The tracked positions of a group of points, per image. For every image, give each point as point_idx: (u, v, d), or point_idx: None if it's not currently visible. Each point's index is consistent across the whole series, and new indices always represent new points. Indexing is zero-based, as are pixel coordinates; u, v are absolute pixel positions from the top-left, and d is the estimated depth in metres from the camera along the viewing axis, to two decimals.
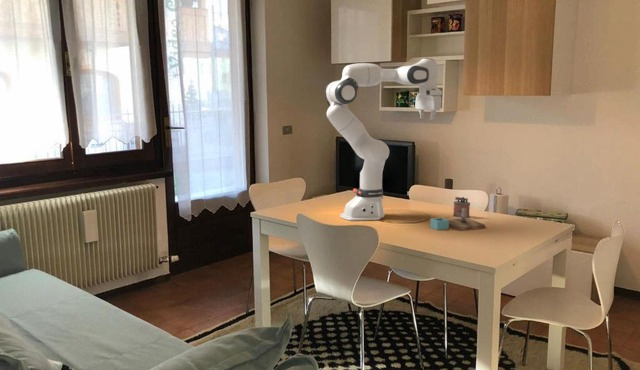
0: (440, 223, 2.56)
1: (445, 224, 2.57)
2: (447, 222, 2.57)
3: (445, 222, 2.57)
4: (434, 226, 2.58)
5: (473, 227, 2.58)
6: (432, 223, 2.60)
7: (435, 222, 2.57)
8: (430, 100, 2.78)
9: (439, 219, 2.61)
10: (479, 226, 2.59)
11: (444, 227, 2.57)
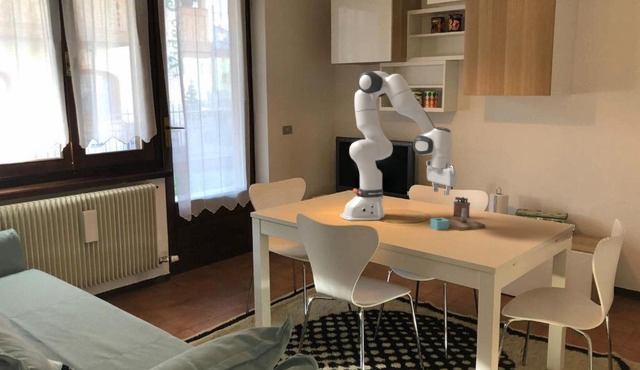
0: (440, 223, 2.56)
1: (445, 224, 2.57)
2: (447, 222, 2.57)
3: (445, 222, 2.57)
4: (434, 226, 2.58)
5: (473, 227, 2.58)
6: (432, 223, 2.60)
7: (435, 222, 2.57)
8: None
9: (439, 219, 2.61)
10: (479, 226, 2.59)
11: (444, 227, 2.57)
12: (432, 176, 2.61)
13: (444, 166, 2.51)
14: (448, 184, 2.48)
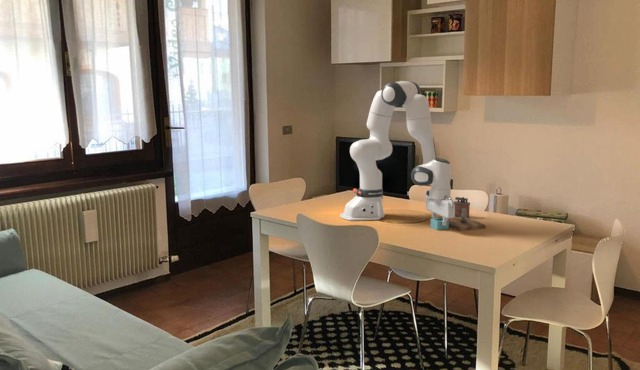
0: (440, 223, 2.56)
1: None
2: (447, 222, 2.57)
3: None
4: (434, 226, 2.58)
5: (473, 227, 2.58)
6: (432, 223, 2.60)
7: (435, 222, 2.57)
8: None
9: (439, 219, 2.61)
10: (479, 226, 2.59)
11: (444, 227, 2.57)
12: (430, 206, 2.63)
13: (443, 197, 2.53)
14: (446, 216, 2.50)
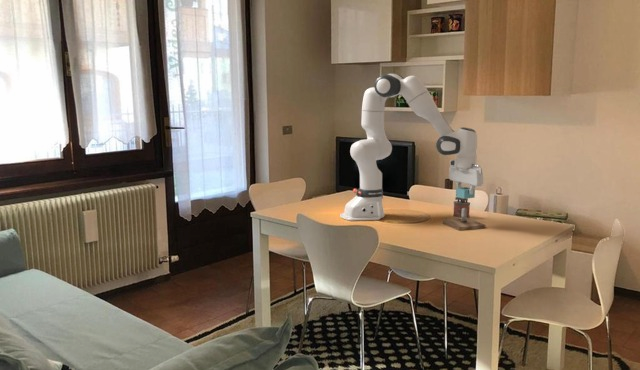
0: (467, 191, 2.58)
1: None
2: (473, 191, 2.59)
3: None
4: (460, 195, 2.60)
5: (473, 227, 2.58)
6: (458, 192, 2.61)
7: (462, 191, 2.59)
8: None
9: (464, 188, 2.63)
10: (479, 226, 2.59)
11: (470, 196, 2.59)
12: (455, 176, 2.64)
13: (470, 166, 2.55)
14: (475, 184, 2.52)
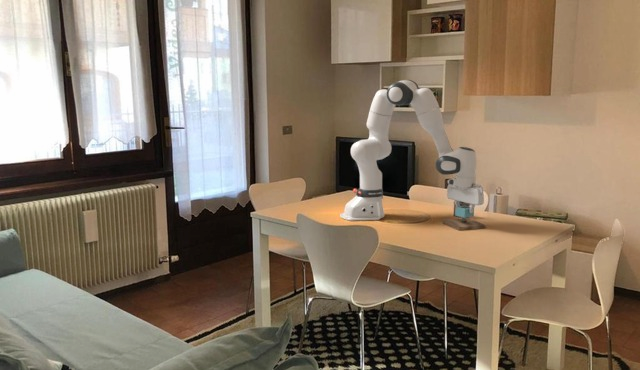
0: (467, 210, 2.59)
1: None
2: None
3: None
4: (460, 214, 2.61)
5: (473, 227, 2.58)
6: (457, 211, 2.62)
7: (462, 210, 2.60)
8: None
9: (463, 207, 2.65)
10: (479, 226, 2.59)
11: (470, 214, 2.61)
12: (454, 195, 2.65)
13: (470, 185, 2.56)
14: (476, 203, 2.53)
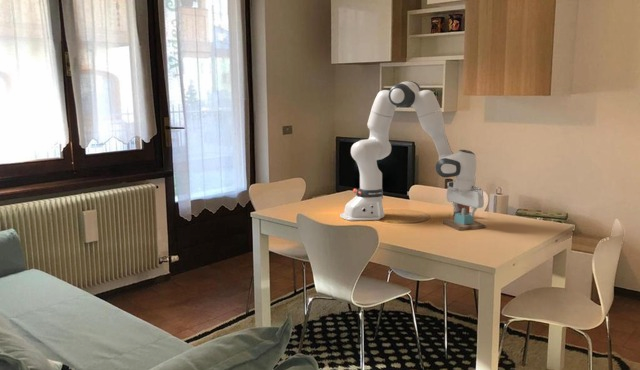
0: (466, 217, 2.60)
1: (470, 218, 2.62)
2: (472, 216, 2.62)
3: (470, 216, 2.61)
4: (460, 221, 2.61)
5: (473, 227, 2.58)
6: (457, 218, 2.63)
7: (461, 217, 2.60)
8: None
9: None
10: (479, 226, 2.59)
11: (469, 221, 2.62)
12: (453, 197, 2.65)
13: (470, 188, 2.57)
14: (476, 206, 2.54)
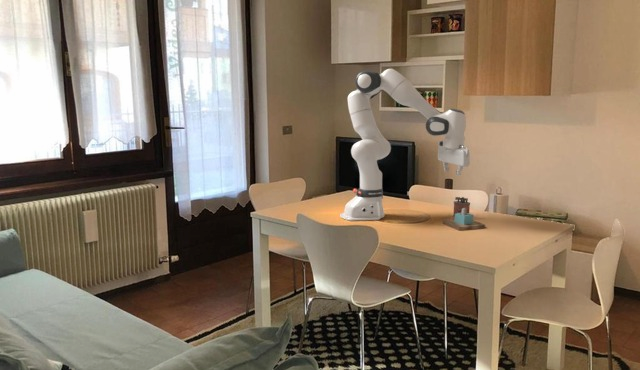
0: (466, 217, 2.60)
1: (470, 218, 2.62)
2: (472, 216, 2.62)
3: (470, 216, 2.61)
4: (460, 221, 2.61)
5: (473, 227, 2.58)
6: (457, 218, 2.63)
7: (461, 217, 2.60)
8: None
9: None
10: (479, 226, 2.59)
11: (469, 221, 2.62)
12: (443, 156, 2.70)
13: (457, 147, 2.61)
14: (461, 164, 2.58)
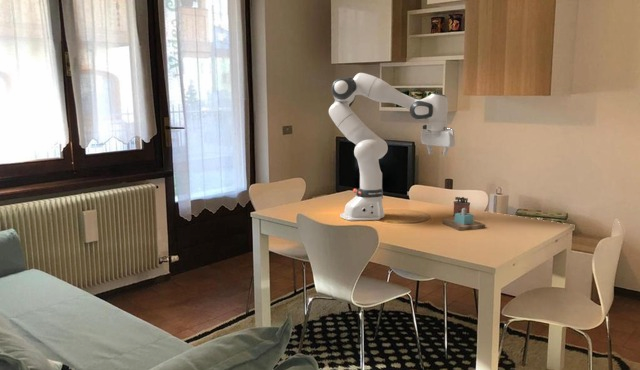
0: (466, 217, 2.60)
1: (470, 218, 2.62)
2: (472, 216, 2.62)
3: (470, 216, 2.61)
4: (460, 221, 2.61)
5: (473, 227, 2.58)
6: (457, 218, 2.63)
7: (461, 217, 2.60)
8: None
9: None
10: (479, 226, 2.59)
11: (469, 221, 2.62)
12: (427, 139, 2.79)
13: (442, 129, 2.71)
14: (447, 145, 2.68)
